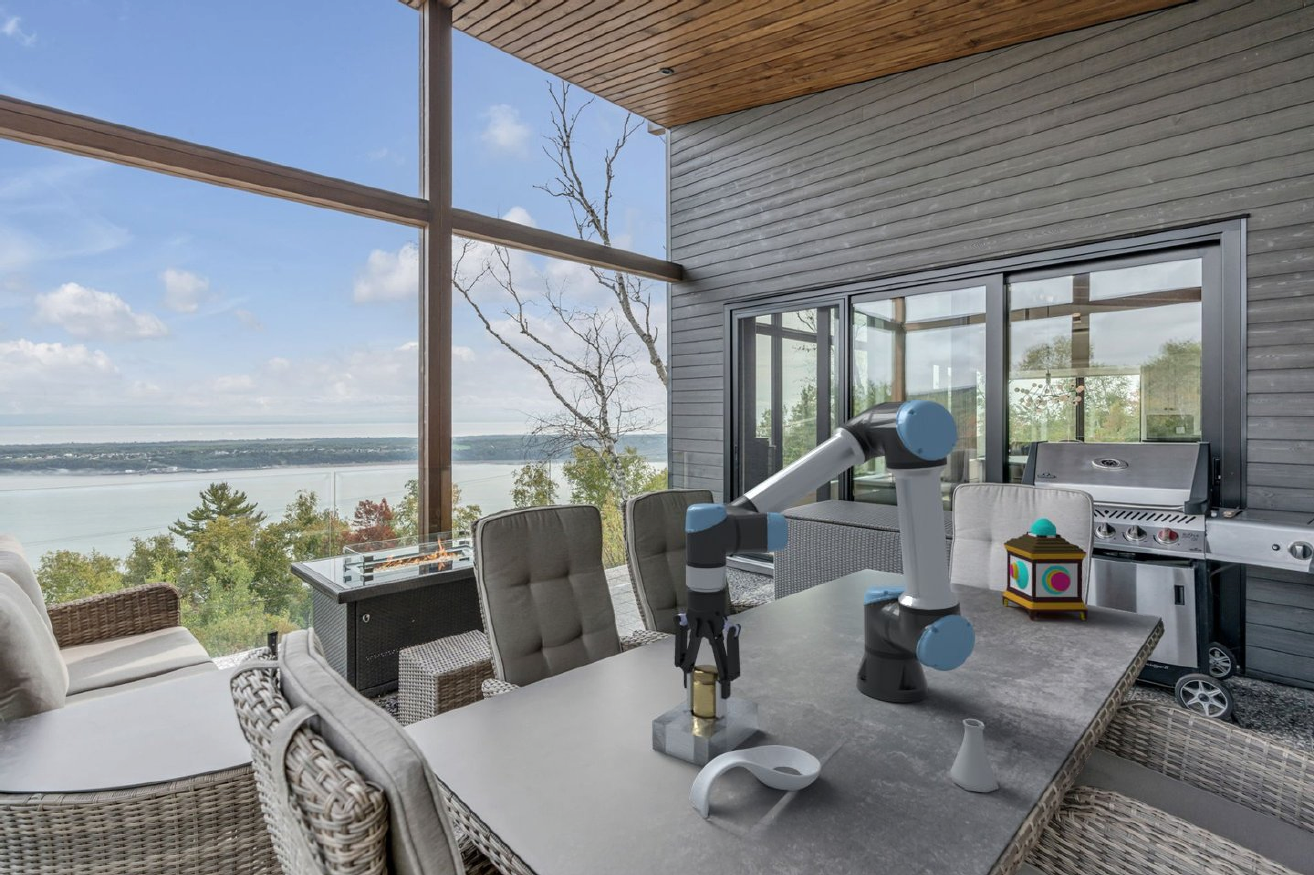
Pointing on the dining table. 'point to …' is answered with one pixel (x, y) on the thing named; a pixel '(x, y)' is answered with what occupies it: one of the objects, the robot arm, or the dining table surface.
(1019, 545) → the decorative lantern
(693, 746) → the bore housing
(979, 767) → the flask
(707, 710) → the gold capped cylinder
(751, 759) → the spoon rest
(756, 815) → the dining table surface
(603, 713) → the dining table surface
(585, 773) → the dining table surface
